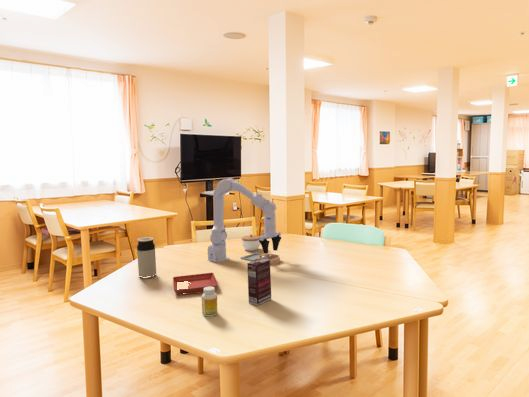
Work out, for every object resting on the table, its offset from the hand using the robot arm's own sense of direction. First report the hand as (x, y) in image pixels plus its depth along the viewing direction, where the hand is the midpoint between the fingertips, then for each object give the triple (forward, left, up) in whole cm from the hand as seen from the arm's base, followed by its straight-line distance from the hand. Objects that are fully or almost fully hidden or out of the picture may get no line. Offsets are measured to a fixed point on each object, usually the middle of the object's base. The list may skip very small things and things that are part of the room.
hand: (270, 251), depth 208 cm
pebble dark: (-1, 0, -4) cm, 4 cm away
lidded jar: (+12, +25, -6) cm, 28 cm away
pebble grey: (-2, +1, -4) cm, 5 cm away
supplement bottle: (-64, -26, -6) cm, 69 cm away
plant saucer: (-49, +1, -6) cm, 49 cm away
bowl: (-1, 0, -5) cm, 6 cm away
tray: (0, +12, -5) cm, 13 cm away
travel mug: (-53, +31, -6) cm, 62 cm away
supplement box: (-44, -32, -6) cm, 55 cm away
